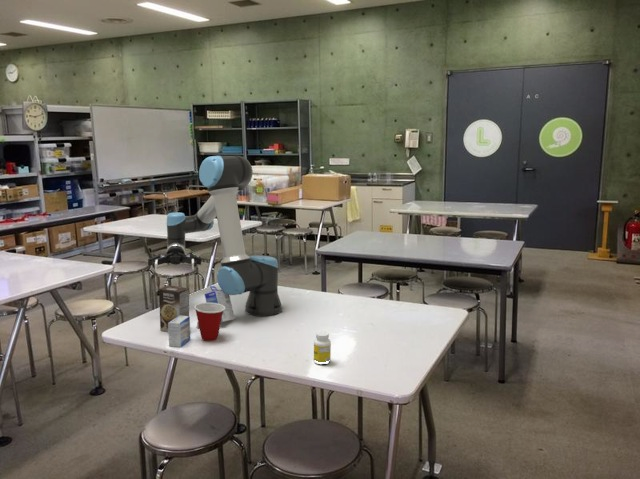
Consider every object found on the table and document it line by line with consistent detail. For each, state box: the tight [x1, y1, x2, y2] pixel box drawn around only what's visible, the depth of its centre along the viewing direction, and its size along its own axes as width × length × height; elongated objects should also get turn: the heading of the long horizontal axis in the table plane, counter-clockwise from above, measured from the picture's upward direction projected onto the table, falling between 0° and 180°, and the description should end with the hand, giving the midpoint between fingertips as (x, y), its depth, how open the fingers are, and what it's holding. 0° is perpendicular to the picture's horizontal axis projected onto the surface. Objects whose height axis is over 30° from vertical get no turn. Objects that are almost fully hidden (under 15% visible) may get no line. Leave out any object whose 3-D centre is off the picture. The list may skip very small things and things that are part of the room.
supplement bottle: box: [313, 330, 332, 362], centre depth 169 cm, size 5×5×10 cm
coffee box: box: [158, 284, 190, 333], centre depth 194 cm, size 9×6×16 cm
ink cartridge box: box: [204, 285, 236, 323], centre depth 204 cm, size 10×6×14 cm, turn 160°
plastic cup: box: [193, 302, 225, 342], centre depth 187 cm, size 11×11×12 cm
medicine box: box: [167, 315, 191, 348], centre depth 183 cm, size 8×4×9 cm, turn 168°
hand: (174, 266), depth 200 cm, fingers open, 13 cm apart
